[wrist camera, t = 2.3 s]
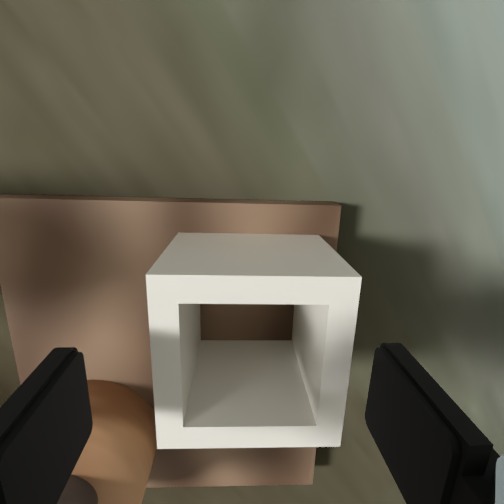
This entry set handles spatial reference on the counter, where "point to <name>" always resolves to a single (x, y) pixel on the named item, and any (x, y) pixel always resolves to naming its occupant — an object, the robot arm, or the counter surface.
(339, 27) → the counter surface
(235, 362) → the hollow square frame
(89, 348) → the post board
